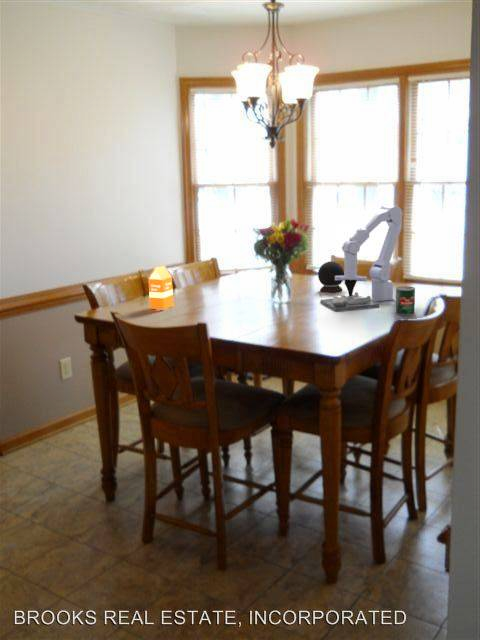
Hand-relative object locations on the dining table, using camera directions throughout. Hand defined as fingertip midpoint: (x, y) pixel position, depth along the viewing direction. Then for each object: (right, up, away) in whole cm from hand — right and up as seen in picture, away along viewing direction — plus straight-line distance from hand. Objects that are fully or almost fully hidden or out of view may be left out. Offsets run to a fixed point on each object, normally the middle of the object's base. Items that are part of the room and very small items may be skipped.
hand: (350, 296), depth 320 cm
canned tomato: (+20, -8, -23) cm, 32 cm away
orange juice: (-88, -6, +5) cm, 88 cm away
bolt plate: (-1, -4, -3) cm, 6 cm away
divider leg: (0, -2, -3) cm, 4 cm away
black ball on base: (-5, +3, +30) cm, 31 cm away
